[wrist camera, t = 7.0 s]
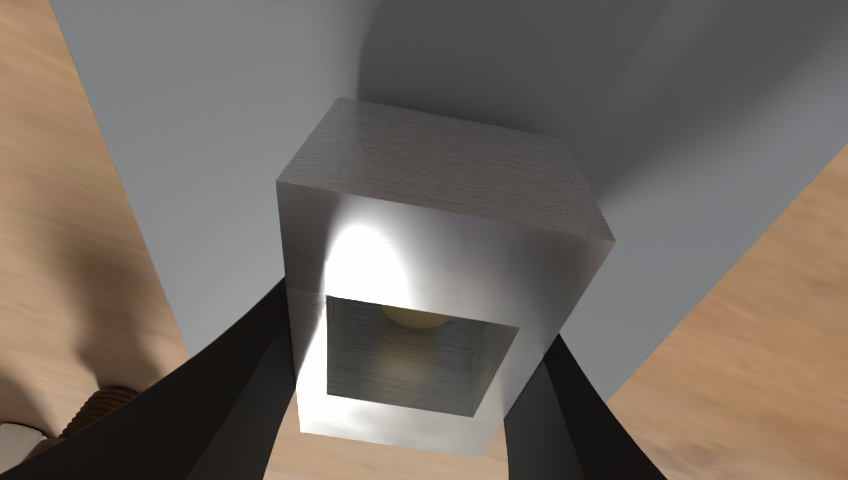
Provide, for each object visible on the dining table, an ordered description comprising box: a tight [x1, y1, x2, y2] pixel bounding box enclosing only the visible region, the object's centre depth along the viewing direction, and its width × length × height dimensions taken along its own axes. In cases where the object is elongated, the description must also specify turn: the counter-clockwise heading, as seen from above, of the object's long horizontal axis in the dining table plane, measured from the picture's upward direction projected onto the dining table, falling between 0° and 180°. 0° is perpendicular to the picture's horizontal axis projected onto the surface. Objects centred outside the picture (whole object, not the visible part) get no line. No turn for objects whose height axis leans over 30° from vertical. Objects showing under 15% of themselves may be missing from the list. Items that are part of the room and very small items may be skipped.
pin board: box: [49, 0, 848, 403], centre depth 13 cm, size 20×20×4 cm
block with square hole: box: [276, 96, 616, 459], centre depth 11 cm, size 6×9×4 cm, turn 171°
